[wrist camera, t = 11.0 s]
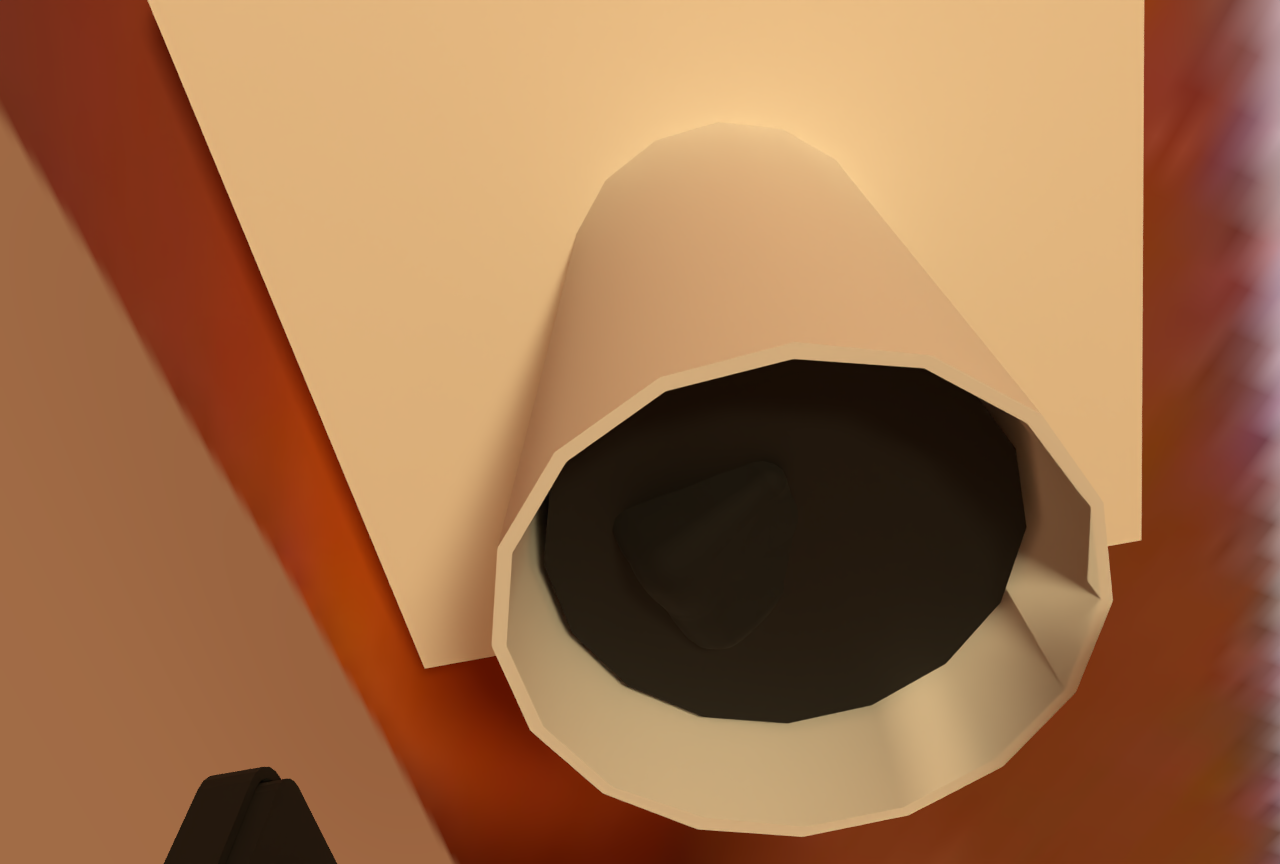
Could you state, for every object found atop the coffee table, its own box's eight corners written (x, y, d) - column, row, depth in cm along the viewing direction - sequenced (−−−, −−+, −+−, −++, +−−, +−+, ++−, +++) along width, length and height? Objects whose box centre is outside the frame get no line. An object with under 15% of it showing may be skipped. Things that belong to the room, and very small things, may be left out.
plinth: (1097, 478, 26) (1141, 540, 24) (440, 599, 27) (424, 668, 25) (1083, -332, 18) (1146, -352, 16) (168, -99, 20) (111, -87, 17)
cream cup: (647, 482, 23) (662, 901, 14) (479, 204, 20) (364, 514, 11) (955, 347, 21) (1183, 719, 13) (822, 24, 18) (999, 219, 10)
